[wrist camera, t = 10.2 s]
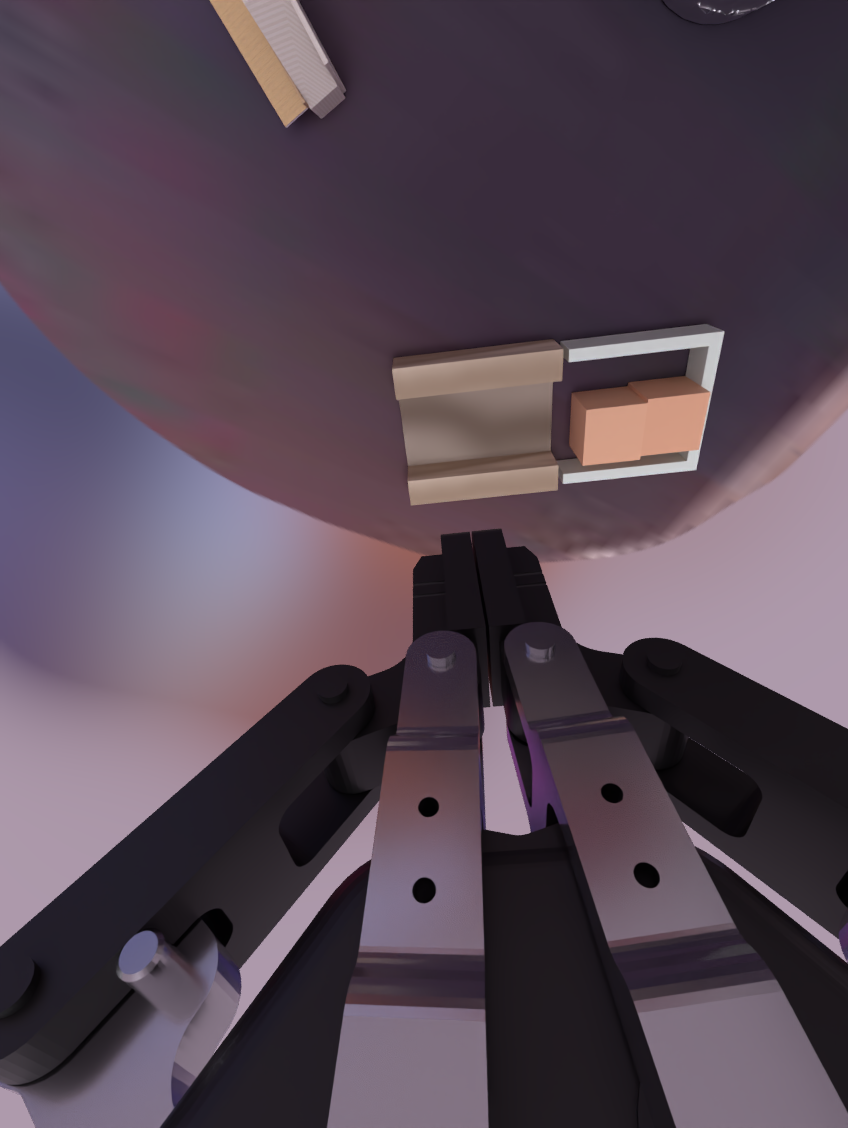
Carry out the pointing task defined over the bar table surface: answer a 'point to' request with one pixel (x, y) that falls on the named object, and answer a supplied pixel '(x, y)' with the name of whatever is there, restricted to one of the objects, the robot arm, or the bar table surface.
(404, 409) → the slot track
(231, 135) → the bar table surface
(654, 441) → the salmon cube
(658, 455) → the grey u-shaped frame
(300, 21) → the architectural model
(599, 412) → the pink cube
